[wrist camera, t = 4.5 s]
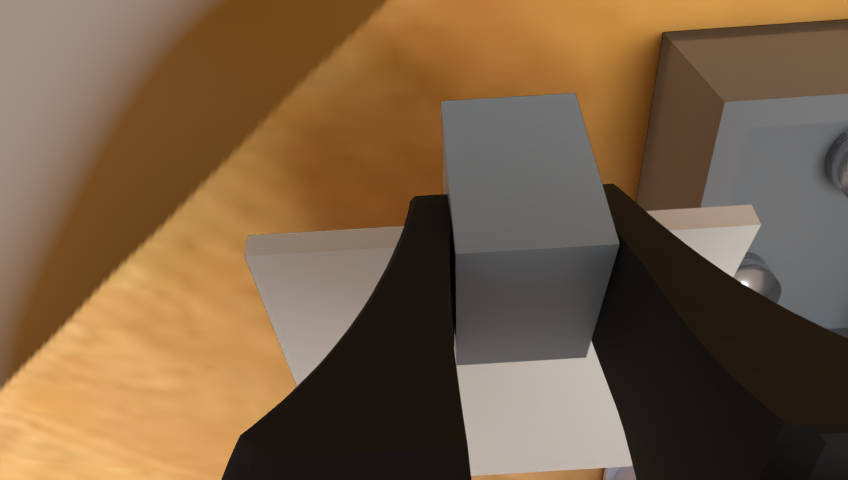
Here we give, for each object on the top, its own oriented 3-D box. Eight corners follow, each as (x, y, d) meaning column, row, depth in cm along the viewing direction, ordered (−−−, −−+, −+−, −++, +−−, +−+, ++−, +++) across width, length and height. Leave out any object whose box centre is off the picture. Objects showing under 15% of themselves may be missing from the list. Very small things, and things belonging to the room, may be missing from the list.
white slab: (623, 431, 27) (651, 549, 24) (337, 448, 27) (333, 568, 24) (798, 52, 13) (911, 226, 10) (208, 88, 13) (164, 272, 10)
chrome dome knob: (757, 303, 28) (770, 323, 27) (689, 307, 28) (699, 328, 27) (775, 249, 26) (790, 269, 25) (702, 254, 26) (714, 274, 25)
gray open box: (863, 325, 30) (935, 417, 26) (613, 342, 30) (647, 436, 26) (1011, 8, 21) (1153, 72, 17) (663, 32, 21) (725, 102, 17)
